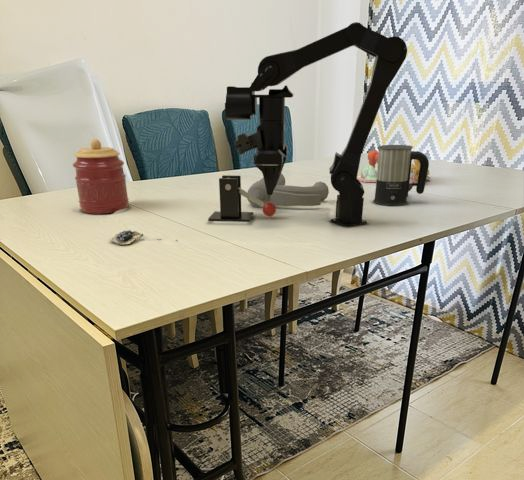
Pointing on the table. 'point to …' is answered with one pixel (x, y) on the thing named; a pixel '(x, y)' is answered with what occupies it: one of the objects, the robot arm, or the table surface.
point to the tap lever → (259, 203)
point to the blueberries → (125, 237)
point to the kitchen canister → (100, 179)
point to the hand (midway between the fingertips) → (271, 191)
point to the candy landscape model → (369, 171)
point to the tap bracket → (230, 201)
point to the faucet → (289, 194)
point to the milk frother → (398, 174)
